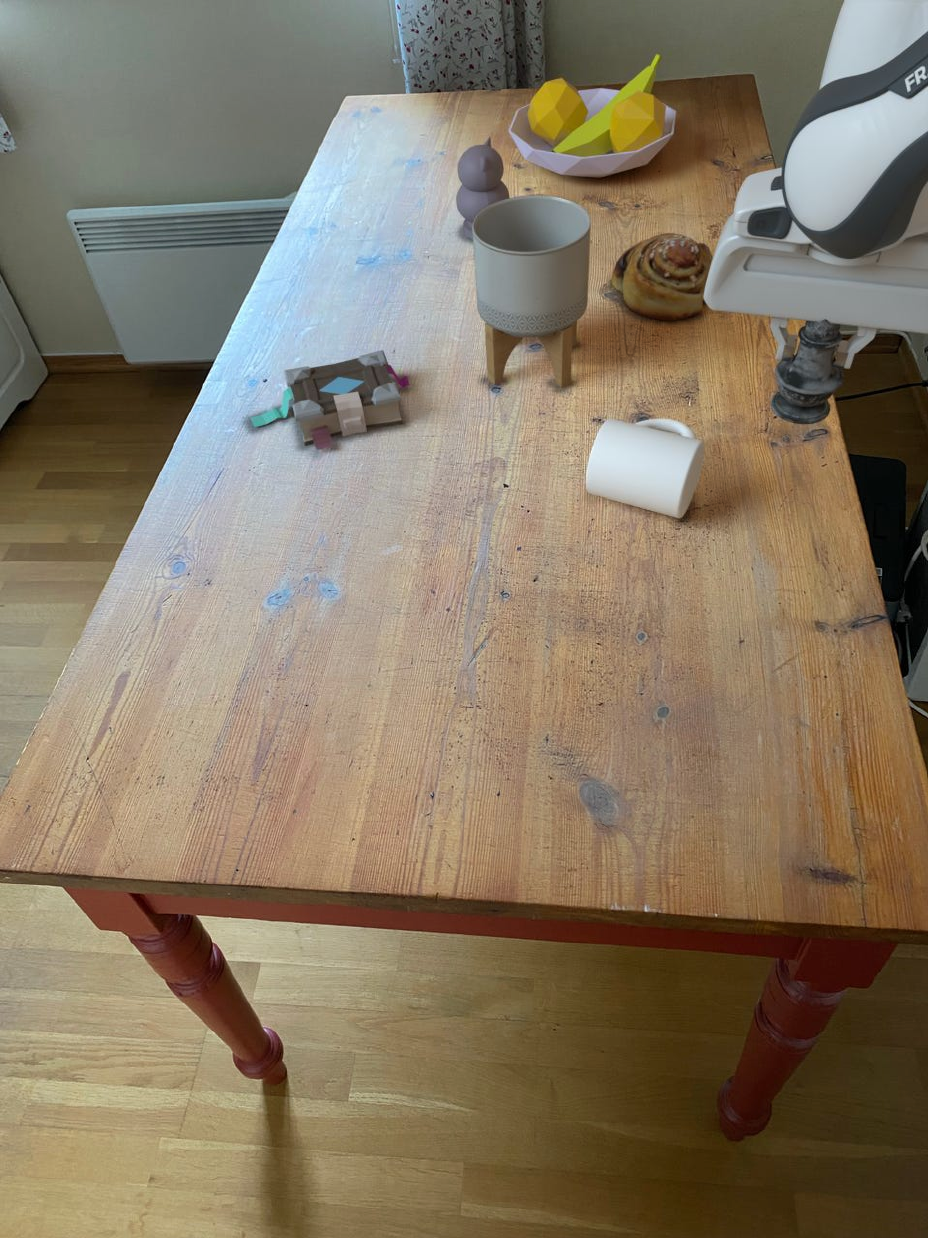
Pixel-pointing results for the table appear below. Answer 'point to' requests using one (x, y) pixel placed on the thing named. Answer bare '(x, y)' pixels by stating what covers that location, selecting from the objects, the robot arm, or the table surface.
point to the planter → (531, 277)
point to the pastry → (664, 276)
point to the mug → (646, 464)
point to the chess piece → (809, 375)
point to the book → (340, 398)
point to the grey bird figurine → (479, 183)
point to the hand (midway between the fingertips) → (811, 360)
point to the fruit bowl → (593, 127)
